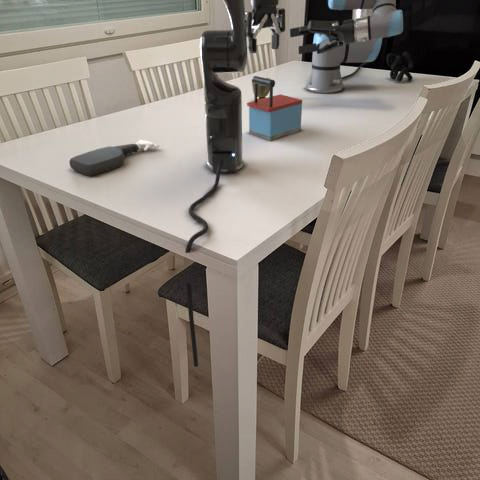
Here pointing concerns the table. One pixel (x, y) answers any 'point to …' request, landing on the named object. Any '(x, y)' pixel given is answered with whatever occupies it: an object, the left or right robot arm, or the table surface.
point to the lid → (272, 101)
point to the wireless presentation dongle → (106, 157)
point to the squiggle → (399, 66)
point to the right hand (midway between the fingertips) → (294, 42)
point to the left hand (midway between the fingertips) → (264, 50)
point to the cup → (262, 91)
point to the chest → (275, 122)
